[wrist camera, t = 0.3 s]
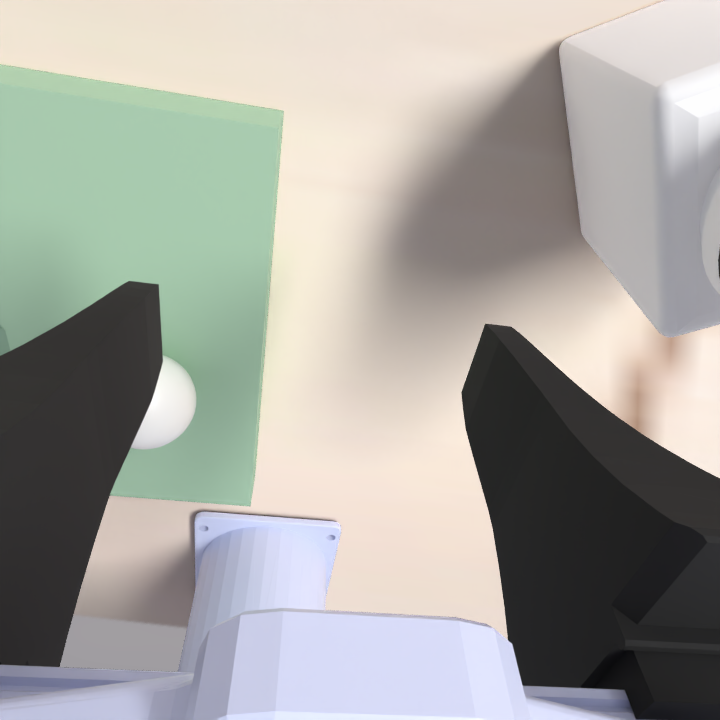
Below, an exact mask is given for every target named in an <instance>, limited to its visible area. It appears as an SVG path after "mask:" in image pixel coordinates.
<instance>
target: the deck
mask: <svg viewBox="0 0 720 720" xmlns="http://www.w3.org/2000/svg"><path fill="white" fill-rule="evenodd" d="M283 113H284V111H281V110H275V109H269V108H263V107H257V106H251V105H245V104H238V103H232V102H226V101H220V100H214V99H208V98H202V97H196V96H190V95H184V94H177V93H171V92H165V91H159V90H153V89H147V88H141V87H135V86H129V85H122V84H116V83H110V82H104V81H98V80H92V79H86V78H80V77H74V76H68V75H61V74H55V73H49V72H43V71H37V70H31V69H25V68H19V67H13V66H6V65H0V356H1V355H3V354H5V353H7V352H9V351H11V350H13V349H15V348H17V347H19V346H21V345H23V344H25V343H27V342H29V341H30V340H32V339H34V338H36V337H38V336H39V335H41V334H43V333H45V332H47V331H48V330H50V329H52V328H54V327H55V326H57V325H59V324H61V323H63V322H64V321H66V320H68V319H69V318H71V317H72V316H74V315H76V314H77V313H79V312H80V311H82V310H84V309H85V308H87V307H88V306H90V305H91V304H93V303H95V302H96V301H98V300H99V299H101V298H102V297H104V296H105V295H107V294H108V293H110V292H111V291H113V290H115V289H116V288H118V287H119V286H121V285H123V284H124V283H126V282H128V281H135V282H143V283H151V284H159V298H160V316H161V334H162V352H163V355H164V356H167V357H169V358H171V359H173V360H174V361H176V362H177V363H179V364H180V365H181V366H182V367H183V368H184V369H185V370H186V371H187V373H188V374H189V376H190V377H191V379H192V381H193V384H194V387H195V391H196V409H195V413H194V416H193V418H192V420H191V423H190V424H189V426H188V427H187V429H186V430H185V431H184V432H183V433H182V434H181V435H180V436H179V437H178V438H176V439H175V440H174V441H172V442H170V443H168V444H166V445H164V446H161V447H158V448H154V449H144V450H143V449H134V448H130V450H129V452H128V455H127V457H126V459H125V461H124V463H123V466H122V468H121V470H120V472H119V474H118V476H117V479H116V481H115V483H114V486H113V488H112V491H111V493H110V495H111V496H124V497H137V498H149V499H162V500H175V501H188V502H201V503H214V504H227V505H239V506H250V505H251V498H252V492H253V485H254V478H255V469H256V456H257V443H258V431H259V418H260V405H261V392H262V380H263V367H264V354H265V342H266V329H267V316H268V304H269V291H270V278H271V265H272V253H273V240H274V227H275V215H276V202H277V189H278V177H279V164H280V151H281V138H282V126H283Z"/></svg>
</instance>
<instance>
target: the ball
mask: <svg viewBox="0 0 720 720" xmlns="http://www.w3.org/2000/svg"><path fill="white" fill-rule="evenodd" d="M195 409H196V391H195V387H194V384H193V381H192V379H191V377H190V376H189V374H188V373H187V371H186V370H185V369H184V368H183V367H182V366H181V365H180V364H179V363H177V362H176V361H174V360H173V359H171V358H169V357H167V356H164V355H163V363H162V367H161V371H160V374H159V378H158V382H157V385H156V388H155V392H154V395H153V398H152V401H151V403H150V406H149V408H148V410H147V413H146V415H145V417H144V419H143V421H142V424H141V426H140V428H139V430H138V433H137V435H136V437H135V439H134V441H133V444H132V446H131V448H134V449H143V450H144V449H154V448H158V447H161V446H164V445H166V444H168V443H170V442H172V441H174V440H175V439H176V438H178V437H179V436H180V435H181V434H182V433H183V432H184V431H185V430H186V429H187V427H188V426H189V424H190V423H191V420H192V418H193V416H194V413H195Z"/></svg>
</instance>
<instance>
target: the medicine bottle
mask: <svg viewBox="0 0 720 720" xmlns="http://www.w3.org/2000/svg"><path fill="white" fill-rule="evenodd" d="M559 56H560V65H561V73H562V81H563V89H564V97H565V105H566V113H567V121H568V129H569V137H570V145H571V153H572V161H573V169H574V177H575V185H576V193H577V201H578V210H579V218H580V226H581V233H582V235H583V237H584V238H585V240H586V241H587V242H588V244H589V245H590V246H591V247H592V249H593V250H594V251H595V252H596V254H597V255H598V256H599V257H600V259H601V260H602V261H603V262H604V264H605V265H606V266H607V268H608V269H609V270H610V271H611V273H612V274H613V275H614V276H615V278H616V279H617V280H618V281H619V283H620V284H621V285H622V286H623V288H624V289H625V290H626V291H627V293H628V294H629V295H630V297H631V298H632V299H633V300H634V302H635V303H636V304H637V305H638V307H639V308H640V309H641V310H642V312H643V313H644V314H645V315H646V317H647V318H648V319H649V321H650V322H651V323H652V324H653V326H654V327H655V328H656V329H657V331H658V332H659V333H660V334H662V335H664V336H666V337H676V336H679V335H683V334H686V333H690V332H693V331H697V330H701V329H704V328H708V327H711V326H715V325H719V324H720V0H664V1H662V2H659V3H656V4H654V5H651V6H648V7H646V8H643V9H641V10H638V11H635V12H633V13H630V14H628V15H625V16H622V17H620V18H617V19H614V20H612V21H609V22H607V23H604V24H601V25H599V26H596V27H594V28H591V29H588V30H586V31H583V32H580V33H578V34H575V35H573V36H570V37H568V38H566V39H565V40H564V41H563V42H562V43H561V45H560V48H559Z"/></svg>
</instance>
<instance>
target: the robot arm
mask: <svg viewBox="0 0 720 720" xmlns="http://www.w3.org/2000/svg"><path fill="white" fill-rule="evenodd" d="M162 363H163V352H162V334H161V316H160V298H159V284H151V283H143V282H135V281H128V282H126V283H124V284H123V285H121V286H119V287H118V288H116V289H115V290H113V291H111V292H110V293H108V294H107V295H105V296H104V297H102V298H101V299H99V300H98V301H96V302H95V303H93V304H91V305H90V306H88V307H87V308H85V309H84V310H82V311H80V312H79V313H77V314H76V315H74V316H72V317H71V318H69V319H68V320H66V321H64V322H63V323H61V324H59V325H57V326H55V327H54V328H52V329H50V330H48V331H47V332H45V333H43V334H41V335H39V336H38V337H36V338H34V339H32V340H30V341H29V342H27V343H25V344H23V345H21V346H19V347H17V348H15V349H13V350H11V351H9V352H7V353H5V354H3V355H1V356H0V720H720V478H718V477H716V476H714V475H712V474H710V473H708V472H706V471H704V470H702V469H700V468H698V467H696V466H695V465H693V464H691V463H689V462H687V461H686V460H684V459H682V458H680V457H679V456H677V455H675V454H674V453H672V452H670V451H668V450H667V449H665V448H663V447H662V446H660V445H658V444H657V443H655V442H654V441H652V440H650V439H649V438H647V437H646V436H644V435H643V434H641V433H640V432H638V431H637V430H635V429H634V428H632V427H631V426H630V425H628V424H627V423H625V422H624V421H622V420H621V419H619V418H618V417H617V416H615V415H614V414H613V413H611V412H610V411H609V410H607V409H606V408H605V407H603V406H602V405H601V404H600V403H598V402H597V401H596V400H595V399H593V398H592V397H591V396H590V395H588V394H587V393H586V392H585V391H584V390H582V389H581V388H580V387H579V386H578V385H577V384H575V383H574V382H573V381H572V380H571V379H570V378H568V377H567V376H566V375H565V374H564V373H563V372H562V371H561V370H560V369H558V368H557V367H556V366H555V365H554V364H553V363H552V362H551V361H550V360H549V359H547V358H546V357H545V356H544V355H543V354H542V353H541V352H540V351H539V350H538V349H537V348H536V347H534V346H533V345H532V344H531V343H530V342H529V341H528V340H527V339H526V338H524V337H523V336H522V335H521V334H520V333H519V332H517V331H516V330H515V329H513V328H512V327H508V326H500V325H492V324H485V326H484V329H483V332H482V335H481V338H480V341H479V344H478V347H477V349H476V352H475V355H474V358H473V361H472V364H471V367H470V370H469V373H468V375H467V378H466V381H465V384H464V387H463V390H462V402H463V411H464V419H465V426H466V431H467V435H468V439H469V443H470V446H471V450H472V454H473V457H474V461H475V464H476V468H477V471H478V475H479V478H480V482H481V485H482V489H483V493H484V496H485V500H486V503H487V507H488V510H489V514H490V519H491V523H492V527H493V533H494V539H495V545H496V551H497V557H498V563H499V570H500V577H501V584H502V592H503V599H504V606H505V615H506V624H507V633H508V640H507V639H506V638H505V637H503V636H502V635H501V634H500V633H499V632H498V631H496V630H495V629H494V628H492V627H491V626H489V625H487V624H484V623H479V622H475V621H470V620H465V619H461V618H456V617H441V616H422V615H404V614H386V613H367V612H349V611H331V610H325V600H326V594H327V590H328V586H329V581H330V577H331V573H332V569H333V564H334V560H335V556H336V551H337V547H338V543H339V539H340V534H341V525H340V524H339V523H337V522H334V521H323V520H309V519H296V518H283V517H270V516H257V515H244V514H230V513H217V512H200V513H198V514H196V517H195V521H194V526H195V584H196V590H195V594H194V599H193V604H192V608H191V613H190V618H189V622H188V627H187V632H186V636H185V641H184V646H183V650H182V655H181V660H180V664H179V669H178V672H167V671H143V670H142V671H140V670H118V669H93V668H67V667H60V662H61V658H62V655H63V651H64V647H65V643H66V639H67V635H68V631H69V628H70V625H71V621H72V617H73V614H74V610H75V607H76V603H77V599H78V596H79V592H80V589H81V585H82V582H83V578H84V575H85V572H86V568H87V565H88V562H89V558H90V555H91V552H92V548H93V545H94V542H95V539H96V535H97V532H98V529H99V526H100V523H101V520H102V517H103V514H104V511H105V507H106V504H107V501H108V498H109V496H110V493H111V491H112V488H113V486H114V483H115V481H116V479H117V476H118V474H119V472H120V470H121V468H122V466H123V463H124V461H125V459H126V457H127V455H128V452H129V450H130V448H131V446H132V444H133V441H134V439H135V437H136V435H137V433H138V430H139V428H140V426H141V424H142V421H143V419H144V417H145V415H146V413H147V410H148V408H149V406H150V403H151V401H152V398H153V395H154V392H155V388H156V385H157V382H158V378H159V374H160V371H161V367H162Z"/></svg>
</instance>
